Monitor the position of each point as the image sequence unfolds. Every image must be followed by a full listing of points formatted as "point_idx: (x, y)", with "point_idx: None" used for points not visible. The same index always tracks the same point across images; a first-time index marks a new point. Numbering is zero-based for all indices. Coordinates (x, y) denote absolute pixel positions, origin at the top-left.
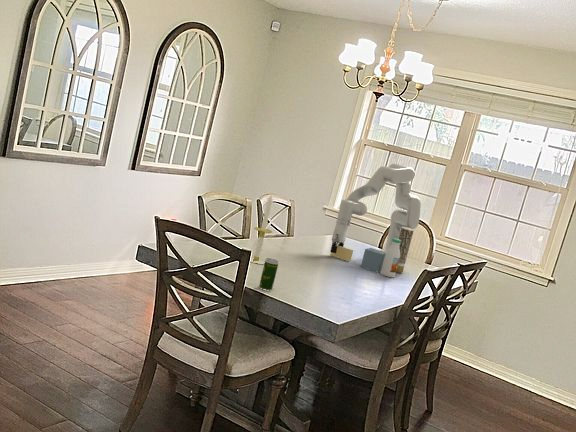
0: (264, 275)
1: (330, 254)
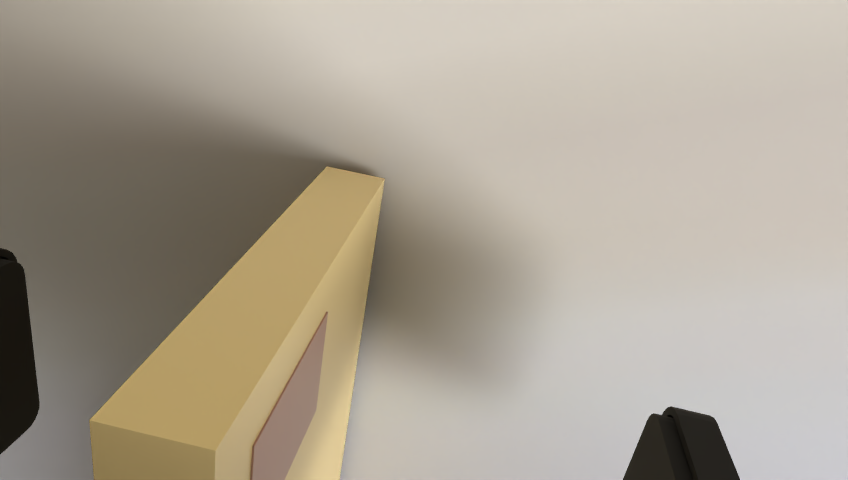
0: None
1: (318, 181)
